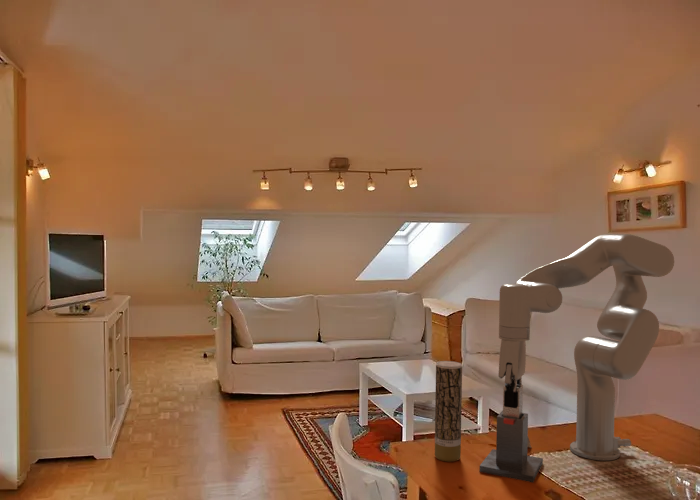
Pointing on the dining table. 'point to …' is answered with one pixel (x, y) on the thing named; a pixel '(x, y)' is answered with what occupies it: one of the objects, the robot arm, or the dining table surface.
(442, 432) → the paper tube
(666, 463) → the dining table surface
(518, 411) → the column
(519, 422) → the stand
